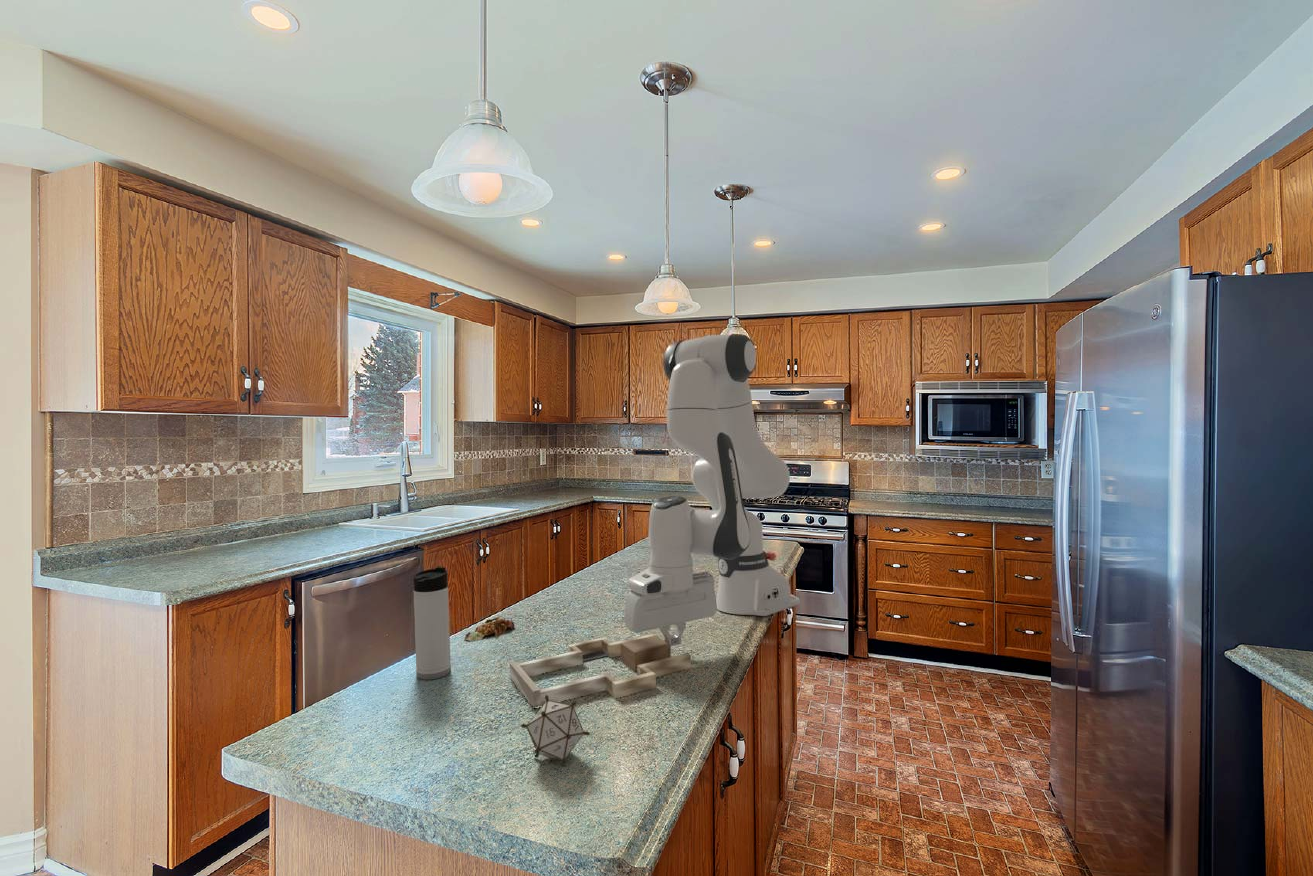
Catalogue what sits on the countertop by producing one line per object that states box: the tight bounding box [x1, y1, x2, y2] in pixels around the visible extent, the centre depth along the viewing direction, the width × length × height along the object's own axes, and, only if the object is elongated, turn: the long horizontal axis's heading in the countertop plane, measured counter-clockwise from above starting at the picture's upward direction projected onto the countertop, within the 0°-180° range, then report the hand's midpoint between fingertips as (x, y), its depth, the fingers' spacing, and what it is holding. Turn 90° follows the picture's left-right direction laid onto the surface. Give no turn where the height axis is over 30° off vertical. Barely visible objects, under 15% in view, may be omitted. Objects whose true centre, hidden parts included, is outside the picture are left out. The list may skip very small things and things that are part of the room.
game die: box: [520, 695, 591, 765], centre depth 84 cm, size 9×8×10 cm
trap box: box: [509, 633, 692, 709], centre depth 113 cm, size 31×22×3 cm
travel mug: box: [413, 566, 452, 681], centre depth 115 cm, size 6×7×20 cm
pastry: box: [463, 615, 515, 643], centre depth 137 cm, size 7×12×4 cm, turn 150°
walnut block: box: [620, 634, 672, 673], centre depth 117 cm, size 8×6×4 cm
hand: (673, 645), depth 120 cm, fingers closed
